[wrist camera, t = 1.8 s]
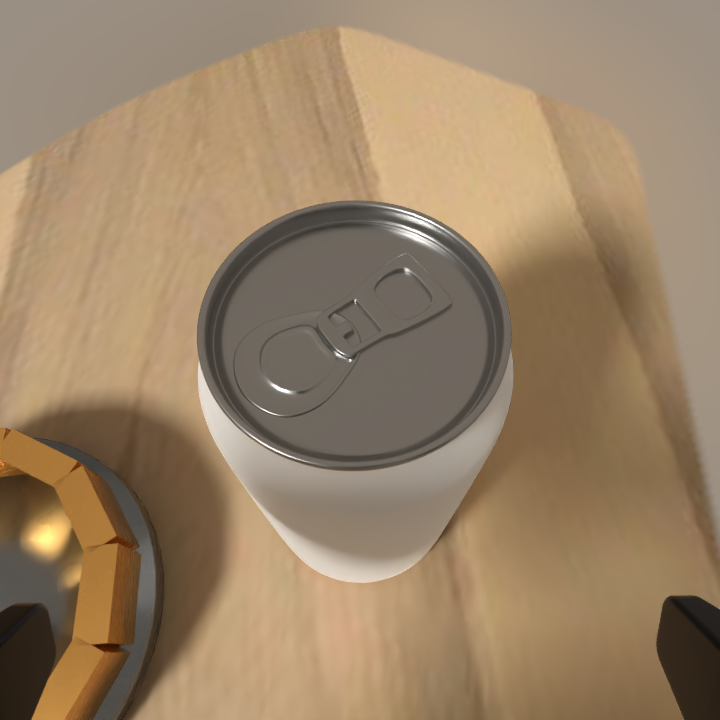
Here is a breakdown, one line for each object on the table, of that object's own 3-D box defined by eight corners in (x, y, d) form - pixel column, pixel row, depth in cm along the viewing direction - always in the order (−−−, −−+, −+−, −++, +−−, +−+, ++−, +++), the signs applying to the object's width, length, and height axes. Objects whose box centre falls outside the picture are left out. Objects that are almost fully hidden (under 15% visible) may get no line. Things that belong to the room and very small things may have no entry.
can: (240, 471, 21) (111, 283, 10) (379, 380, 23) (390, 139, 12) (337, 626, 18) (297, 587, 8) (485, 512, 20) (616, 352, 10)
